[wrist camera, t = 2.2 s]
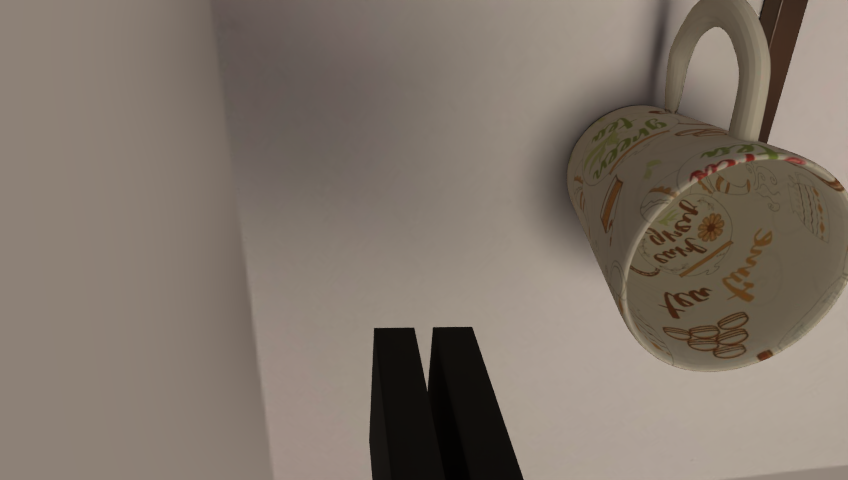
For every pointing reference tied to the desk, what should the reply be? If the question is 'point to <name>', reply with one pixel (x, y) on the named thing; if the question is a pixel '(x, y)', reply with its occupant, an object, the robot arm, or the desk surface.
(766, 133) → the strip
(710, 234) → the mug
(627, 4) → the desk surface
